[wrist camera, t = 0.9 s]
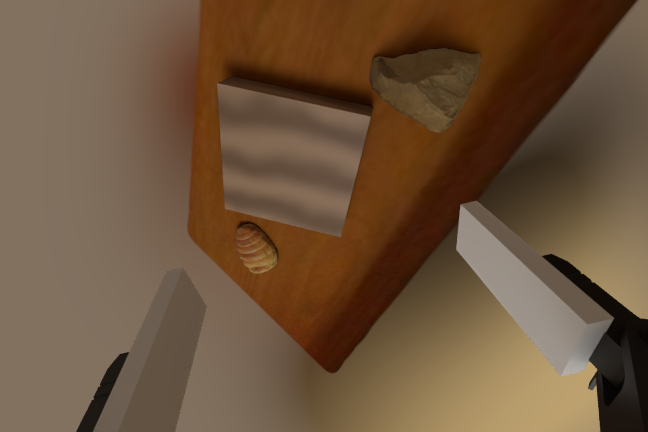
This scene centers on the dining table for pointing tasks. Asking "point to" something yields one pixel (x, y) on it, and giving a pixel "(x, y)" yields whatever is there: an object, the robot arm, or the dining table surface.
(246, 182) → the walnut base
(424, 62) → the rock
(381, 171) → the dining table surface
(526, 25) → the dining table surface
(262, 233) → the pastry
